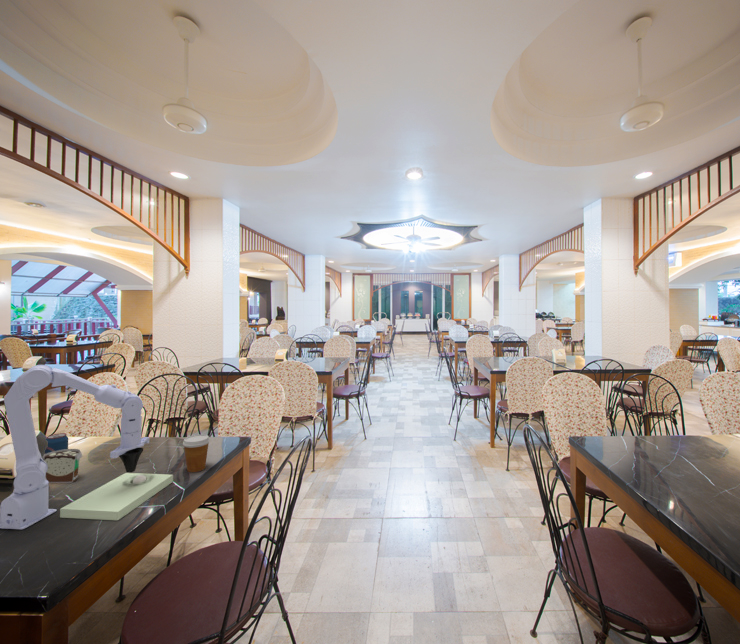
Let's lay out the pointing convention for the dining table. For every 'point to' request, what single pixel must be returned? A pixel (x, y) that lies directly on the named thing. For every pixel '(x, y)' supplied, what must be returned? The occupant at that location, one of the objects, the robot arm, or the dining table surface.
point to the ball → (139, 479)
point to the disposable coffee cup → (196, 452)
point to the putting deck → (116, 497)
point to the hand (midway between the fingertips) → (130, 471)
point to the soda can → (56, 442)
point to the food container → (62, 465)
